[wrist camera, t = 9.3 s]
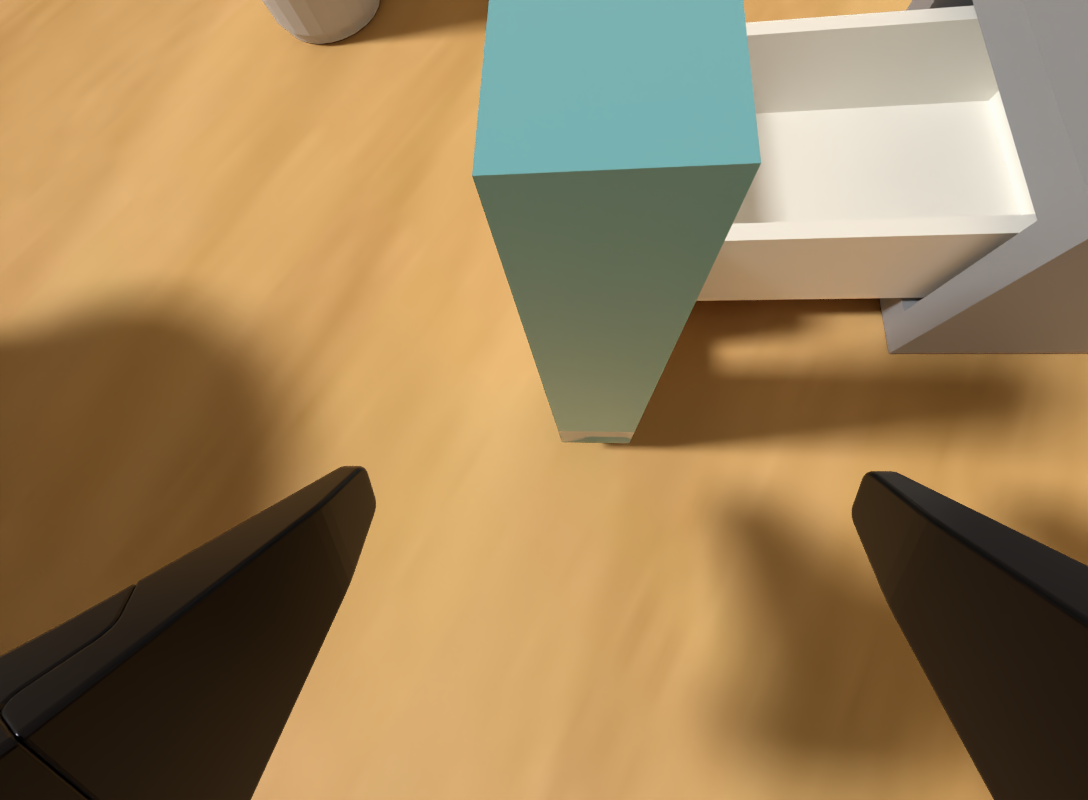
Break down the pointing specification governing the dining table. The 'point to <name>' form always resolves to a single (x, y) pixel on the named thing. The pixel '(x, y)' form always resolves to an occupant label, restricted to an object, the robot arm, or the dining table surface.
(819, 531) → the dining table surface
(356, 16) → the coffee cup
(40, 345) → the dining table surface
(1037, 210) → the carton sleeve
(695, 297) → the teal white angled piece
